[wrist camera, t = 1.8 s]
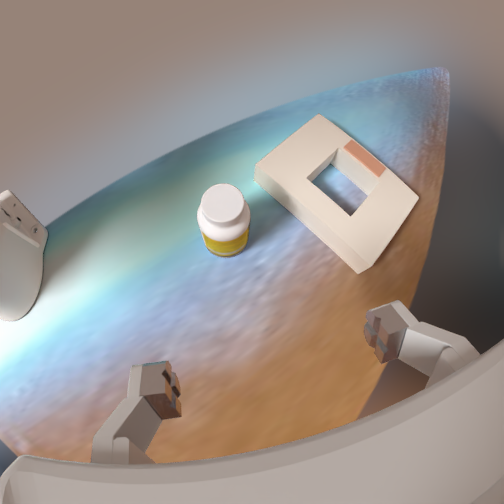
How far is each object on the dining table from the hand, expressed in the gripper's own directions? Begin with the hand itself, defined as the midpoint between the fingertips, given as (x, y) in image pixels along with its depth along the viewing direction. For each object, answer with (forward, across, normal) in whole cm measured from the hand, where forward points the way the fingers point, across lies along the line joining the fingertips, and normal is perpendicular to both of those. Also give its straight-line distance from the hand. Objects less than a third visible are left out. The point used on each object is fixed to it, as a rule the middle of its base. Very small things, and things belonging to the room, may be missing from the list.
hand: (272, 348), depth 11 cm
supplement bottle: (+25, 0, +7) cm, 26 cm away
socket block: (+27, -15, +5) cm, 31 cm away
